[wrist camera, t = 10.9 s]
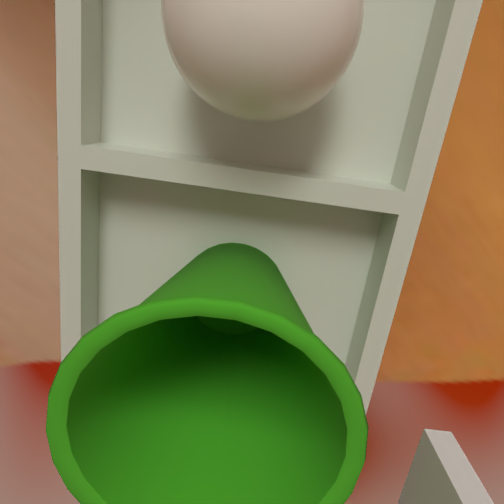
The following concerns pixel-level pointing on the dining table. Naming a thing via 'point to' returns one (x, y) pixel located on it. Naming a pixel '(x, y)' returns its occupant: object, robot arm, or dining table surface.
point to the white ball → (262, 51)
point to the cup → (208, 397)
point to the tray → (251, 169)
